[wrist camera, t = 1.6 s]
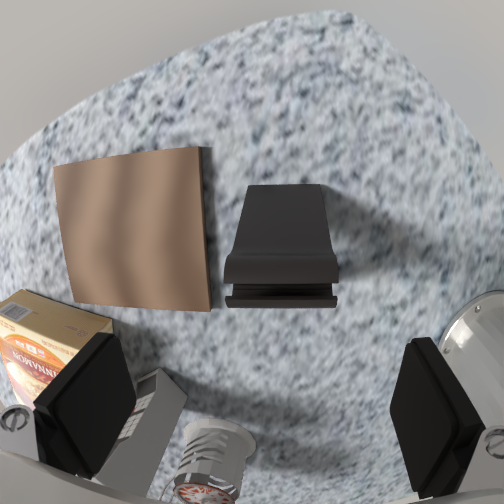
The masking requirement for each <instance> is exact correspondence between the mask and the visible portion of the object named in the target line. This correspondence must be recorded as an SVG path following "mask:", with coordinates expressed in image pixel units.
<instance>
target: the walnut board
mask: <svg viewBox="0 0 504 504" xmlns="http://www.w3.org/2000/svg"><path fill="white" fill-rule="evenodd" d="M54 180H55V191H56V200H57V209H58V217H59V224H60V231H61V237H62V243H63V249H64V255H65V260H66V265H67V270H68V275H69V280H70V284H71V289H72V293H73V297H74V301H75V302H76V303H86V304H97V305H108V306H120V307H132V308H146V309H162V310H179V311H199V312H210V311H211V309H212V299H211V287H210V276H209V264H208V251H207V238H206V224H205V209H204V192H203V174H202V154H201V147H199V146H197V147H185V148H175V149H165V150H156V151H148V152H140V153H132V154H125V155H118V156H111V157H105V158H99V159H93V160H87V161H81V162H76V163H70V164H65V165H60V166H55V167H54Z"/></svg>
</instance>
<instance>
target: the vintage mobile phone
mask: <svg viewBox="0 0 504 504" xmlns="http://www.w3.org/2000/svg"><path fill="white" fill-rule="evenodd" d="M136 398H137V402H136V406H135V408H134V410H133V412H132V413H131V415H130V417H129V419H128V421H127V422H126V424H125V426H124V428H123V430H122V431H121V433H120V435H119V437H118V439H117V440H116V442H115V444H114V446H113V448H112V450H111V451H110V453H109V455H108V457H107V459H106V461H105V463H104V464H103V466H102V468H101V470H100V472H99V473H97V474H94V476H93V478H92V480H88V479H86V480H88V481H91V482H94V483H97V484H100V485H103V486H106V487H110V488H113V489H116V490H119V491H123V492H126V493H130V494H134V495H138V496H142V497H146V495H147V492H148V490H149V488H150V485H151V483H152V480H153V478H154V476H155V473H156V471H157V469H158V466H159V464H160V462H161V459H162V457H163V454H164V452H165V450H166V447H167V445H168V443H169V440H170V438H171V436H172V433H173V431H174V429H175V426H176V424H177V421H178V419H179V417H180V414H181V412H182V410H183V407H184V405H185V403H186V400H187V398H188V397H187V395H186V394H185V393H184V392H183V391H182V390H181V389H180V388H179V387H178V386H177V385H176V384H175V383H174V382H173V381H172V380H171V378H170V377H169V376H168V375H167V374H166V373H165V372H164V371H163V370H162V369H161V368H158V369H156V370H155V371H153V372H151V373H149V374H147V375H145V376H143V377H141V378H140V379H139V380H138V382H137V392H136ZM78 477H80V476H78ZM80 478H83V477H80ZM83 479H85V478H83Z"/></svg>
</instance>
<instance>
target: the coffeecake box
mask: <svg viewBox="0 0 504 504" xmlns="http://www.w3.org/2000/svg"><path fill="white" fill-rule="evenodd" d="M97 332H105V333H112V334H113V327H112V319H109V318H106V317H102V316H99V315H96V314H93V313H89V312H86V311H83V310H80V309H77V308H74V307H71V306H68V305H65V304H62V303H59V302H56V301H53V300H50V299H47V298H44V297H42V296H39V295H36V294H33V293H31V292H28V291H25V290H23V289H21V290H19V291H18V292H16V293H15V294H13V295H12V296H10V297H9V298H8V299H6V300H4V301H2V302H1V303H0V351H1V355H2V358H3V361H4V364H5V367H6V370H7V373H8V376H9V379H10V382H11V385H12V388H13V390H14V393H15V395H16V398H17V400H18V403H19V404H21V405H26V406H28V407H30V408H31V410H32V411H33V410H34V409H35V406H34V404H33V401H34V400H35V399H36V398H37V397H38V396H39V394H40V393H41V392H42V391H43V390H44V389H45V388H46V387H47V386H48V384H49V383H50V382H51V381H52V380H53V379H54V378H55V377H56V376H57V374H58V373H59V372H60V371H61V370H62V369H63V368H64V367H65V366H66V365H67V364H68V362H69V361H70V360H71V359H72V358H73V357H74V356H75V355H76V354H77V353H78V352H79V351H80V350H81V348H82V347H83V346H84V345H85V344H86V343H87V342H88V341H89V340H90V339H91V338H92V337H93V336H94V335H95V334H96V333H97Z"/></svg>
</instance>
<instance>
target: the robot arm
mask: <svg viewBox="0 0 504 504" xmlns="http://www.w3.org/2000/svg"><path fill="white" fill-rule="evenodd" d="M466 393H467V394H466ZM469 398H470V399H469ZM470 400H471V401H470ZM136 402H137V398H136V394H135V391H134V388H133V385H132V382H131V378H130V375H129V372H128V368H127V365H126V361H125V358H124V354H123V351H122V347H121V343H120V340H119V339H118V338H116V336H115V335H114V334H112V333H105V332H97V333H96V334H95V335H94V336H93V337H92V338H91V339H90V340H89V341H88V342H87V343H86V344H85V345H84V346H83V347H82V348H81V350H80V351H79V352H78V353H77V354H76V355H75V356H74V357H73V358H72V359H71V360H70V361H69V362H68V364H67V365H66V366H65V367H64V368H63V369H62V370H61V371H60V372H59V373H58V374H57V376H56V377H55V378H54V379H53V380H52V381H51V382H50V383H49V384H48V386H47V387H46V388H45V389H44V390H43V391H42V392H41V393H40V394H39V396H38V397H37V398H36V399H35V400H34V401H33V404H34V406H35V409H34V410H33V411H32V410H31V408H30V407H28V406H26V405H21V404H19V405H13V406H10V407H8V408H6V409H4V410H3V411H2V412H1V413H0V504H173V503H168V502H163V501H159V500H154V499H150V498H146V497H142V496H138V495H134V494H130V493H126V492H123V491H119V490H116V489H113V488H110V487H106V486H103V485H100V484H97V483H94V482H91V481H88V480H92V478H93V476H94V474H97V473H99V472H100V470H101V468H102V466H103V464H104V463H105V461H106V459H107V457H108V455H109V453H110V451H111V450H112V448H113V446H114V444H115V442H116V440H117V439H118V437H119V435H120V433H121V431H122V430H123V428H124V426H125V424H126V422H127V421H128V419H129V417H130V415H131V413H132V412H133V410H134V408H135V406H136ZM473 405H474V406H473ZM477 412H478V413H477ZM390 415H391V418H392V421H393V424H394V428H395V431H396V434H397V438H398V441H399V444H400V448H401V451H402V454H403V458H404V461H405V465H406V469H407V472H408V476H409V480H410V483H411V487H412V490H413V491H414V492H418V496H419V499H424V498H428V497H432V496H433V498H432V499H428V500H424V501H419V502H414V503H409V504H504V292H502V291H492V292H489V293H485V294H483V295H481V296H479V297H477V298H475V299H473V300H472V301H471V302H469V303H468V304H467V305H465V306H464V307H463V308H462V309H461V310H460V311H459V312H458V313H457V314H456V316H455V317H454V318H453V319H452V320H451V322H450V323H449V325H448V326H447V328H446V329H445V331H444V333H443V335H442V337H441V339H440V342H439V346H438V348H437V347H436V345H435V344H434V342H433V341H432V339H431V338H430V337H423V338H414V339H412V341H411V343H408V344H407V345H406V347H405V351H404V356H403V360H402V364H401V368H400V372H399V375H398V379H397V383H396V386H395V390H394V394H393V397H392V400H391V404H390ZM76 474H77V475H78V476H80V477H83V478H85V479H83V478H80V477H77V476H75V475H76ZM86 479H88V480H86Z"/></svg>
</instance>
